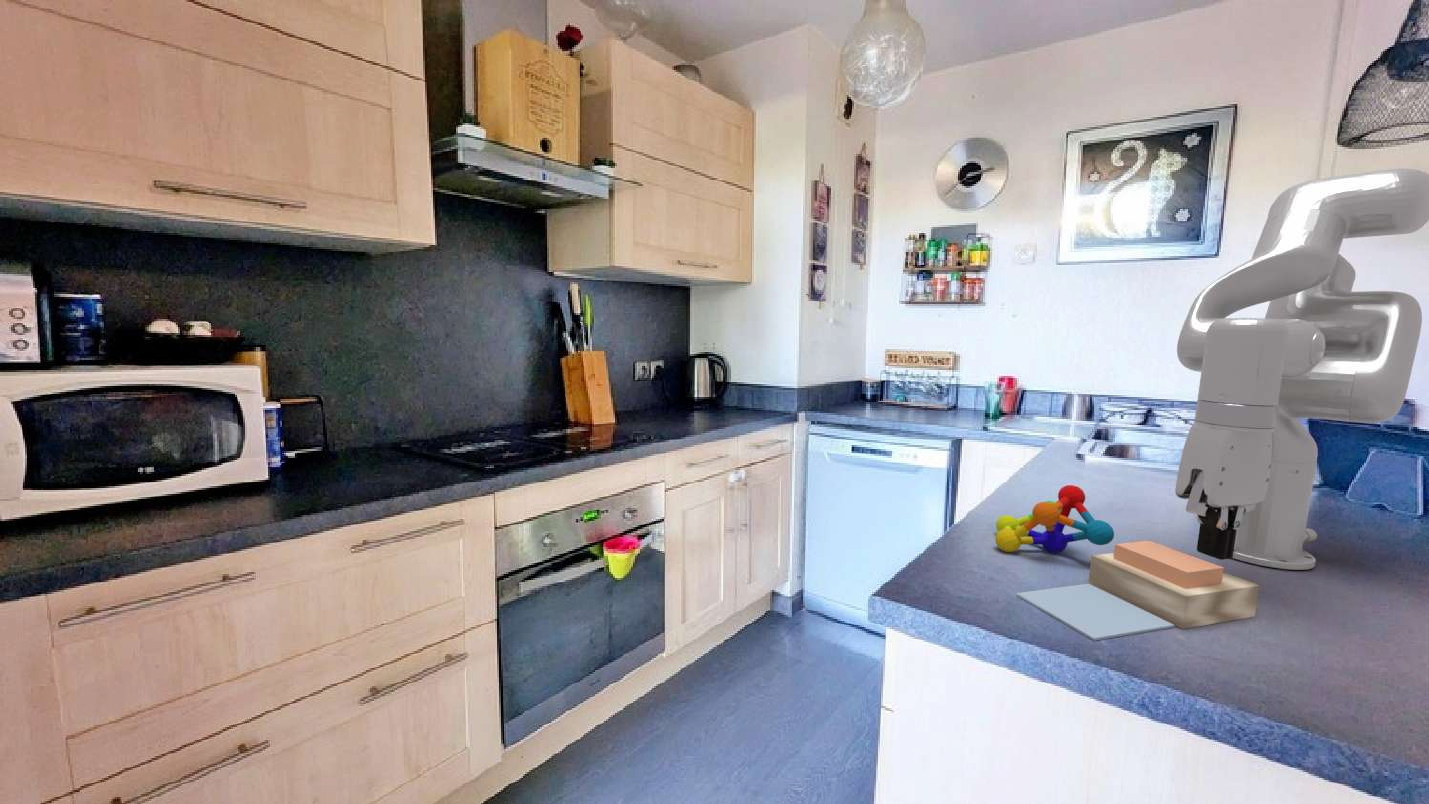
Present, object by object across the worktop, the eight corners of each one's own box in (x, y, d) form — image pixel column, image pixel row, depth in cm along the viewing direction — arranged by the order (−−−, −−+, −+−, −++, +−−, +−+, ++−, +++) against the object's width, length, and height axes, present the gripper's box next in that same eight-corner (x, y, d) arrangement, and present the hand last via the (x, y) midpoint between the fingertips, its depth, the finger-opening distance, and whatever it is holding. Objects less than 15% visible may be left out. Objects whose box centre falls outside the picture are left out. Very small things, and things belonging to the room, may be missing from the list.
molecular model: (1017, 585, 84) (1126, 552, 80) (990, 526, 84) (1098, 490, 79) (994, 548, 98) (1085, 519, 94) (971, 497, 98) (1062, 466, 94)
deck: (1154, 574, 80) (1158, 547, 80) (1254, 616, 69) (1259, 585, 68) (1088, 583, 77) (1091, 555, 76) (1181, 629, 66) (1186, 596, 65)
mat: (1088, 585, 76) (1088, 583, 76) (1174, 627, 66) (1174, 624, 66) (1016, 595, 73) (1016, 593, 73) (1093, 640, 63) (1094, 638, 63)
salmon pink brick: (1147, 554, 77) (1149, 540, 77) (1221, 583, 69) (1223, 567, 68) (1113, 558, 76) (1115, 544, 75) (1185, 588, 67) (1187, 572, 67)
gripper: (1241, 411, 77) (1222, 540, 80) (1159, 413, 73) (1142, 549, 76) (1311, 420, 70) (1288, 561, 73) (1225, 422, 66) (1204, 572, 69)
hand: (1214, 555), depth 74 cm, fingers closed
